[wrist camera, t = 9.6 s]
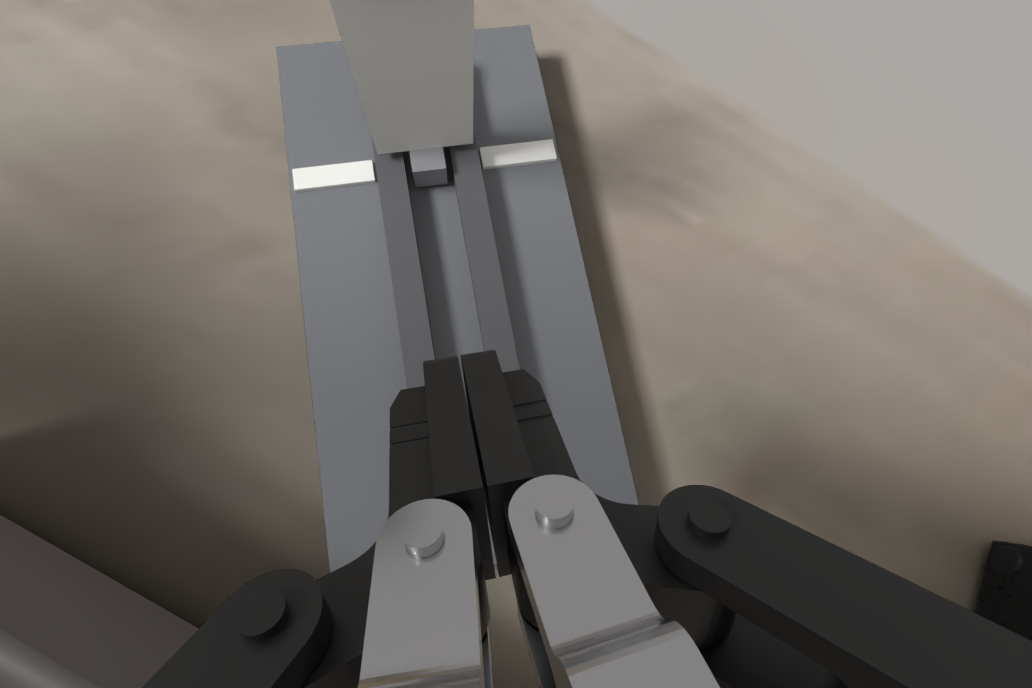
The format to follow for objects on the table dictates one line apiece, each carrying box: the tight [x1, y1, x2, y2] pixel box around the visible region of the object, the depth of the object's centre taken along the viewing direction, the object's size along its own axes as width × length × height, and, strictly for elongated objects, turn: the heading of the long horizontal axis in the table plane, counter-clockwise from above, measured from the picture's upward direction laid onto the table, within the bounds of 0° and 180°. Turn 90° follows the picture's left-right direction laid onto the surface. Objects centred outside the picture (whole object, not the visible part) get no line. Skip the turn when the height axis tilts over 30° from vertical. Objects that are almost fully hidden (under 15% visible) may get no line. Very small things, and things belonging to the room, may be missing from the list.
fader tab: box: [330, 0, 474, 187], centre depth 17 cm, size 4×4×10 cm
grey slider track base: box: [276, 25, 639, 573], centre depth 22 cm, size 24×12×4 cm, turn 11°
